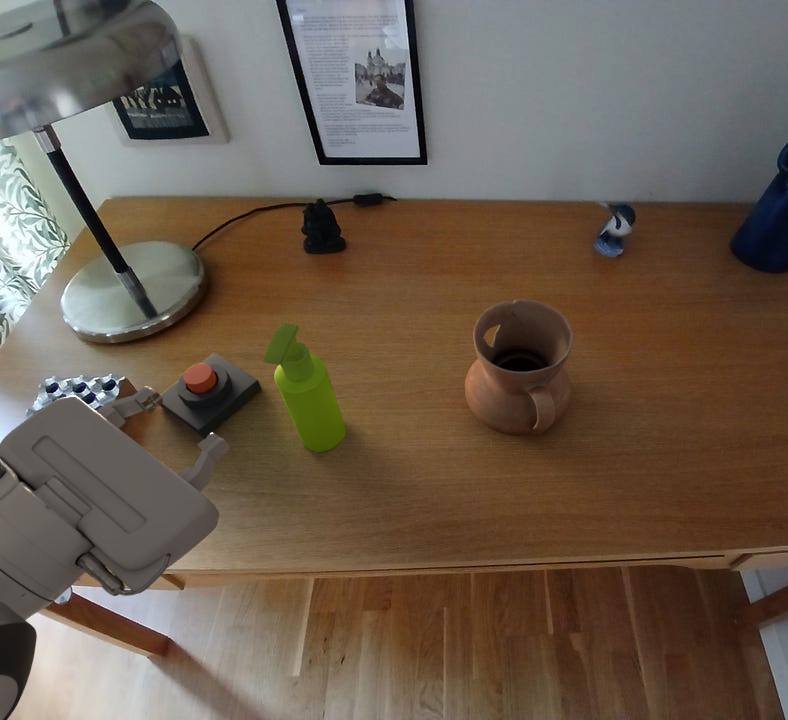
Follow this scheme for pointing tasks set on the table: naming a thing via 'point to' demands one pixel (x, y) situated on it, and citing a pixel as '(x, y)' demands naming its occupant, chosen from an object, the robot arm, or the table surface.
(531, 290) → the table surface
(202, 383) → the button
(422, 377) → the table surface
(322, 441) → the soap dispenser
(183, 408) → the red push button box
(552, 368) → the ceramic jug
